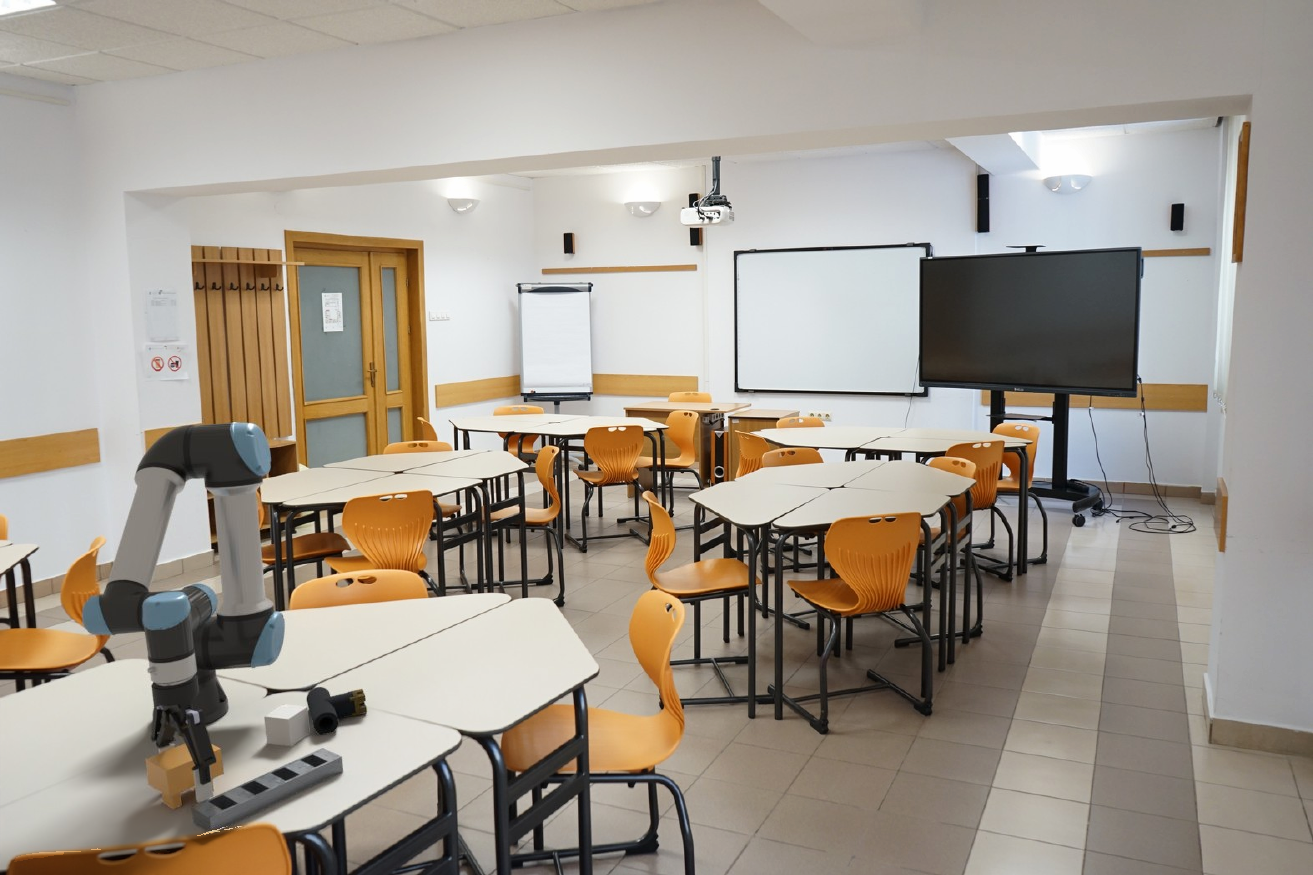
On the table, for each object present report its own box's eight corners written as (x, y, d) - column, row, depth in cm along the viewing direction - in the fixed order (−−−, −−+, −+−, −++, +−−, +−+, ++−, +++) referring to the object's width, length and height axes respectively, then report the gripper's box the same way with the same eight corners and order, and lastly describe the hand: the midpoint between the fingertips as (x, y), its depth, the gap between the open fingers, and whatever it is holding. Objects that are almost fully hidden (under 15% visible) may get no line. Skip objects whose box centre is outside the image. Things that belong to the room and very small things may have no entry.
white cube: (310, 733, 199) (307, 706, 198) (291, 746, 194) (288, 719, 193) (286, 730, 201) (283, 704, 200) (267, 743, 196) (264, 716, 195)
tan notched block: (150, 802, 174) (145, 759, 172) (204, 779, 181) (199, 737, 180) (171, 815, 169) (166, 771, 167) (225, 791, 177) (220, 748, 175)
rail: (193, 822, 166) (191, 807, 166) (324, 762, 186) (322, 747, 186) (211, 834, 162) (209, 818, 162) (343, 771, 182) (341, 756, 182)
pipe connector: (358, 677, 215) (368, 701, 202) (360, 699, 216) (371, 725, 203) (305, 689, 210) (312, 714, 197) (307, 711, 211) (315, 738, 198)
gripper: (122, 671, 176) (136, 778, 179) (186, 700, 161) (200, 817, 164) (163, 658, 182) (175, 762, 185) (229, 685, 167) (241, 798, 170)
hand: (187, 788), depth 175 cm, fingers open, 12 cm apart
